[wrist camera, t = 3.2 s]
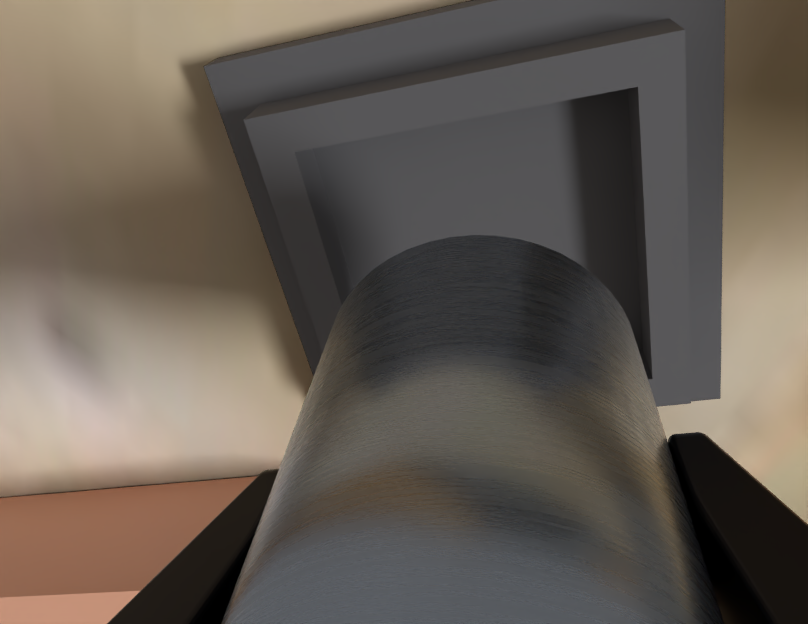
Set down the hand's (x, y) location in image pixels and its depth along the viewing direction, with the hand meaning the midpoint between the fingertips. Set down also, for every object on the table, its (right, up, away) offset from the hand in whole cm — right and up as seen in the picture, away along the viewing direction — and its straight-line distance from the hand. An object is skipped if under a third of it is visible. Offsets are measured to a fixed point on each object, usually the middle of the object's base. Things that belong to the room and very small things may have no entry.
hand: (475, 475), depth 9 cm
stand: (+1, +4, +7) cm, 8 cm away
